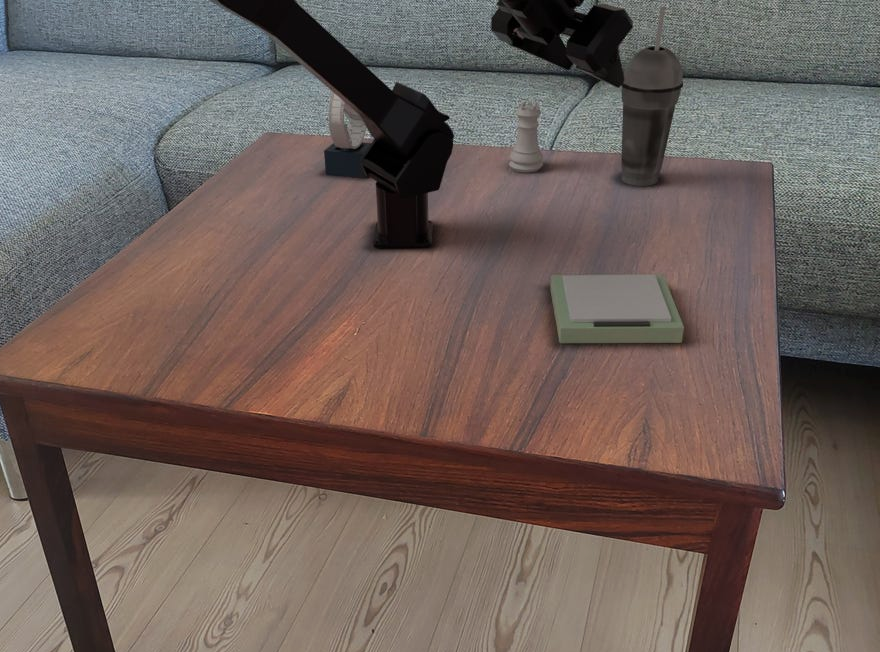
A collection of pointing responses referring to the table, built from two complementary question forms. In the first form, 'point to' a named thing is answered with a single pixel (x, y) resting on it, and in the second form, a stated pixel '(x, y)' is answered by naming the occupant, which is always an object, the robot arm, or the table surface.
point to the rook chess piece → (527, 140)
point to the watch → (345, 140)
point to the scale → (615, 309)
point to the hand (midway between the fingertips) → (595, 75)
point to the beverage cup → (648, 110)
